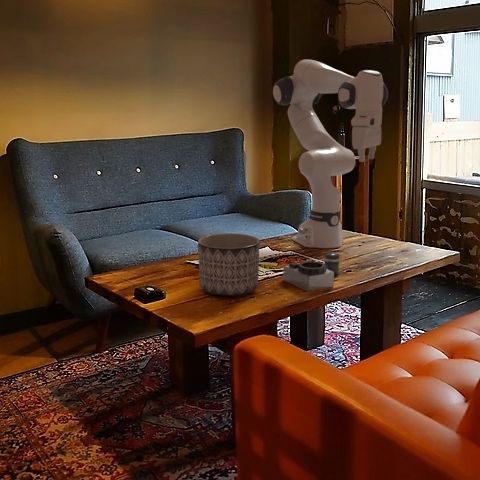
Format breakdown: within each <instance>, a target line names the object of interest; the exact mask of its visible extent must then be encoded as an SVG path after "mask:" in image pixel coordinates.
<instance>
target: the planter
mask: <svg viewBox="0 0 480 480" xmlns="http://www.w3.org/2000/svg"><path fill="white" fill-rule="evenodd" d="M260 242H261V240H260V239H259V238H258V237H256V236H254V235H249V234H244V233H235V232H234V233H232V232H231V233H225V232H224V233H214V234H209V235H204V236H202V237H200V238H199V239H198V240H197V249H198V252H197V253H198V254H197V255H198V270H199V273H198V274H199V287H200V289H201V290H202V291H204V292H205V293H208V294H211V295H217V296H222V297H223V296H224V297H236V296H240V295H241V296H242V295H246V294H249V293H252V292H254V291H256V290H257V289H258V288H259V274H260V273H259V271H260V245H261V244H260Z"/></svg>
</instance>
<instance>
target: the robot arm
mask: <svg viewBox="0 0 480 480" xmlns="http://www.w3.org/2000/svg"><path fill="white" fill-rule="evenodd" d="M324 94H337V100H338V104H339V105H340V107H342V108H344V109H348V110H355V113H354V114H355V115H354V116H353V117H352V118H351V121H350V124H351V126H352V130H351V133H352V134H351V143H352V148H353V149H354V150H357V154H358V161H359V162H360V163H364V162H366V156H365V152H366V149H369V150H368V154H367V158H368V160H374V159H375V153H376V150H377V146H380V145H381V143H382V120H383V107H384V106H385V104H386V103H387V101H388V99H389V90H388V87H387V86H386V84H385V83H384V80H383V75H382V73H381V72H379V71H377V70H370V69H369V70H368V69H365V70H360V71H358V73H357V75H356V76H353V75H350V74H347V73H345V72H344V71H342V70H339V69H335V68H333V67H332V66H329V65H327V64H326V63H323V62H321V61H317V60H314V59H302V60H299V61H298V62H297V63H296V64H295V66H294V69H293V74H292V75H291V76H287V75H285V76H284V77H282V78H280V79H278V80H277V81H275V83H274V84H273V87H272V96H273V100H274V101H275V102H276V103H277V104H278V106H279V105H280V106H289V107H288V109H287V116H288V120H289V123H290V125H291V128H292V129H293V131H294V134H295V135H296V137H297V140H298V141H299V142H300V145H301V146H302V148H304V149H306V150H307V151H305V152H303V153H302V154H301V155H300V157H299V160H298V168H299V172H300V173H301V175H303V177H305V178H306V179H307V181H308V182H309V186H310V188H311V200H312V201H311V204H312V205H311V210H308V214H309V216H308V219H306V220H304V221H303V222H302V223H301V224H300V225H299V226H298V230H297V235H294V236H292V237H291V240H293V241H294V242H296V243H298V244H300V245H302V246H304V247H305V248H318V249H319V248H320V249H336V248H339V247H341V246H343V242H344V239H343V237H342V223H341V222H340V221H341V216H342V213H341V210H340V207H341V205H340V203H341V193H340V192H341V191H340V190H339V189H338V188H337V187H336V186H334V185H333V182H332V177H334V176H343V175H345V174H348V173H351V171H353V169H354V168H355V167H356V157H355V154H354V152H353V151H352V150H351V149H349V148H347V147H344V146H343V145H341V144H340V143H339V142H338V141H336V140H335V139H334V138H333V136H331V135H330V134H329V133H328V132H327V130H326V129H325V127H324V125H323V124H322V122H321V121H320V118H319V117H318V116H317V114H316V112H315V110H314V109H313V104H314V105H316V104H318V103H319V101H320V99H321V98H322V97H323V95H324Z"/></svg>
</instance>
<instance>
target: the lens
mask: <svg viewBox="0 0 480 480" xmlns="http://www.w3.org/2000/svg"><path fill="white" fill-rule="evenodd" d="M323 259H324V262H323V263H324V264H326V269H328V270H330V271H333V272H334V278H335V277H338V276H339V273H340V254H339V253H337V252H326V253H324V258H323Z"/></svg>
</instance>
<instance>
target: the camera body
mask: <svg viewBox="0 0 480 480" xmlns="http://www.w3.org/2000/svg"><path fill="white" fill-rule="evenodd" d="M282 278H283V281H285V282H286V283H288V284H291V285H293V286H295V287H297V288H300V289H302V290H304V291H305V292H307V293H310V292H316V291H319V290H325V289H328V288H329V289H330V288H333V287H334V284H335V283H334V282H335V277H334V272H333V271H330V270H328V269H326V264H324V262H321V261H315V260H311V261H310V260H305V261H301V262H295V261H294V262H288V264H287V265H283V277H282Z"/></svg>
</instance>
